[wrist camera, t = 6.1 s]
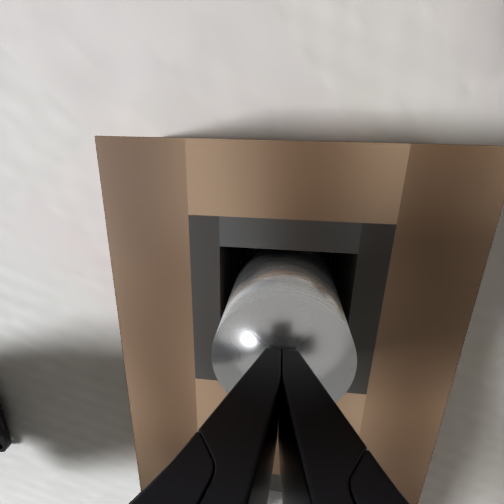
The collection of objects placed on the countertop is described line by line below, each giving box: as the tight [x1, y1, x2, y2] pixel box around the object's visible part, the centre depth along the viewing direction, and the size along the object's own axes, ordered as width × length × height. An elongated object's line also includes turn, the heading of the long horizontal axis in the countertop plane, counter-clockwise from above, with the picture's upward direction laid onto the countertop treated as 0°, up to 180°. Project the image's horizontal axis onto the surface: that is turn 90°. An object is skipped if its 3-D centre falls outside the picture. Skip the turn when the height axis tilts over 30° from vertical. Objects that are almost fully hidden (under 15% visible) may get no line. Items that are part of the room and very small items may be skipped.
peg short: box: [211, 248, 357, 403], centre depth 11 cm, size 4×4×5 cm
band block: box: [95, 136, 504, 504], centre depth 15 cm, size 12×22×5 cm, turn 179°
